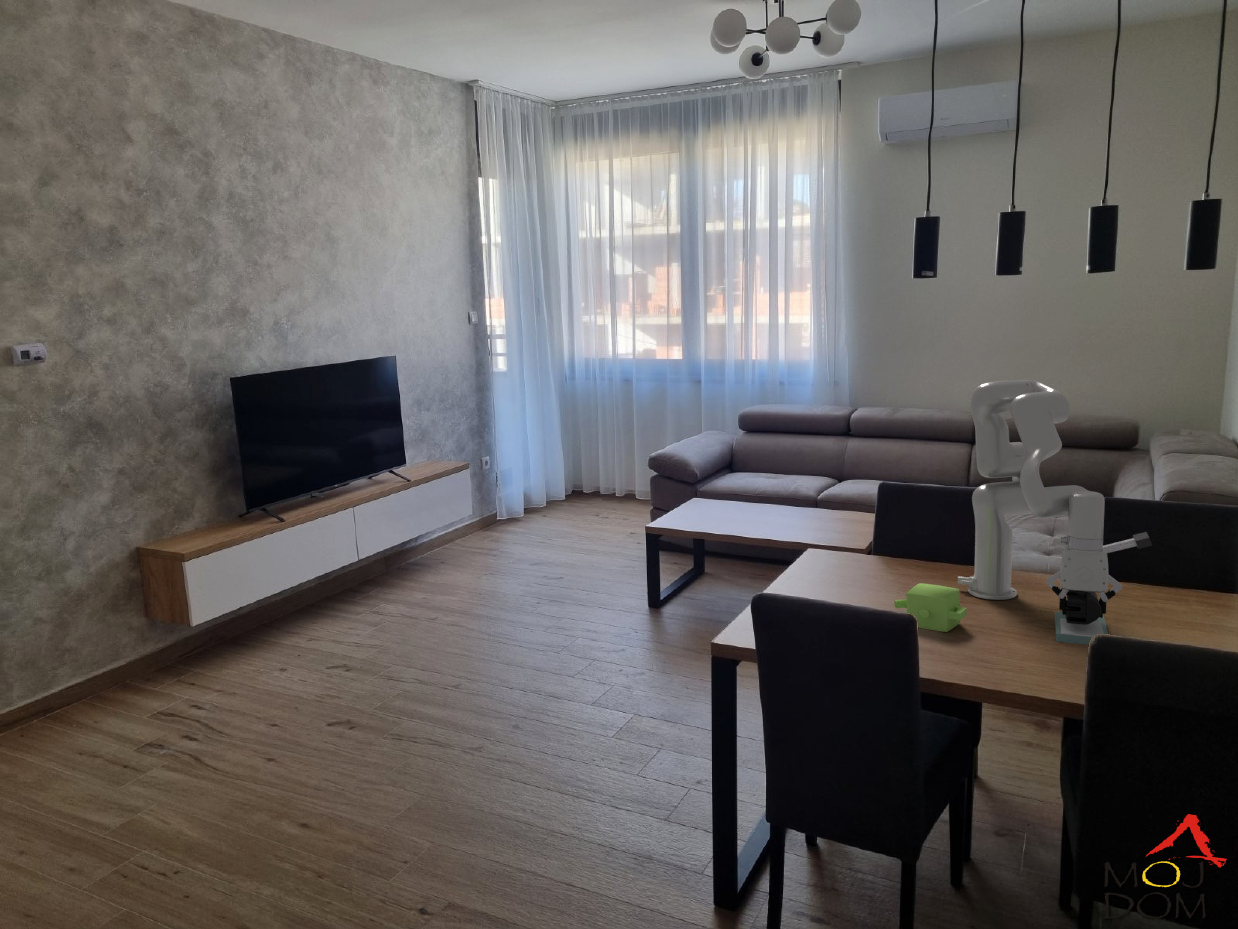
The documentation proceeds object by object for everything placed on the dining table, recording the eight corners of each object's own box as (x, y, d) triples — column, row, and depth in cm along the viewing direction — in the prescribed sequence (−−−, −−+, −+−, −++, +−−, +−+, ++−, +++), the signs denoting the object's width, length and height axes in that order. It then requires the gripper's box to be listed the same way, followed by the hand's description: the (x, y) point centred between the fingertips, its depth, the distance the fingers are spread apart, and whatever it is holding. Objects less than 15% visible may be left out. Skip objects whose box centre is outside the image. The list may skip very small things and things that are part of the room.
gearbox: (887, 625, 228) (886, 590, 226) (903, 613, 235) (902, 579, 233) (956, 638, 216) (955, 601, 214) (971, 625, 223) (971, 589, 221)
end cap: (1100, 627, 206) (1101, 599, 205) (1066, 624, 209) (1067, 596, 208) (1096, 613, 215) (1097, 587, 214) (1064, 611, 218) (1065, 584, 217)
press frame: (1056, 641, 211) (1058, 577, 208) (1054, 619, 226) (1057, 558, 223) (1108, 646, 206) (1111, 581, 203) (1103, 623, 221) (1106, 561, 219)
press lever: (1078, 565, 216) (1074, 554, 216) (1077, 559, 222) (1073, 548, 222) (1152, 547, 209) (1148, 535, 209) (1149, 541, 214) (1145, 529, 214)
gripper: (1044, 544, 210) (1042, 616, 213) (1128, 549, 202) (1125, 623, 205) (1044, 537, 217) (1042, 606, 219) (1125, 541, 209) (1122, 613, 212)
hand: (1082, 614), depth 212 cm, fingers closed on end cap, 7 cm apart
